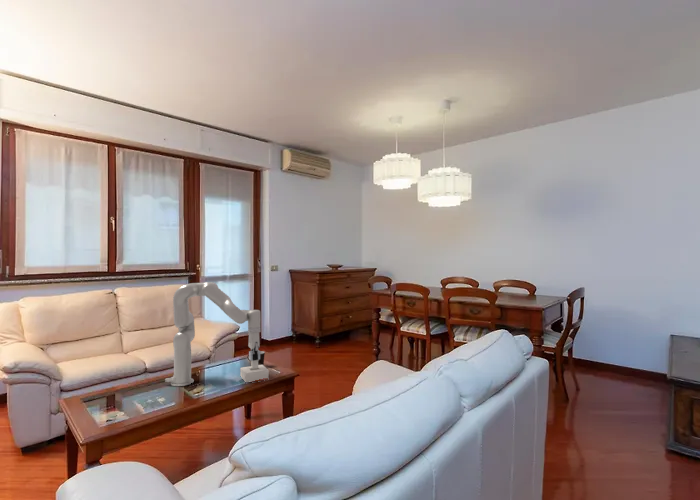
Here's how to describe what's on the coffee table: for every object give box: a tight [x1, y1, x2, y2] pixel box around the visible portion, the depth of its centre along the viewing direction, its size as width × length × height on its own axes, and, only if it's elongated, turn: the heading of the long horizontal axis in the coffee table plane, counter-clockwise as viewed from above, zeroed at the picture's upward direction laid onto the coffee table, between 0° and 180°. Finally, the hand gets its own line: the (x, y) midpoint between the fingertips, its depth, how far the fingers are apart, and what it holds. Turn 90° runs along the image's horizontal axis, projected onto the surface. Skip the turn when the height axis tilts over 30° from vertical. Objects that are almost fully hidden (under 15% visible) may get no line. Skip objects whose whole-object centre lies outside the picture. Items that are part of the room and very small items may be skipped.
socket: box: [239, 364, 269, 383], centre depth 226 cm, size 14×14×6 cm
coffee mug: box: [246, 350, 266, 365], centre depth 252 cm, size 12×9×10 cm
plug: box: [248, 349, 261, 369], centre depth 227 cm, size 6×4×10 cm, turn 119°
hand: (254, 358), depth 227 cm, fingers closed on plug, 4 cm apart
